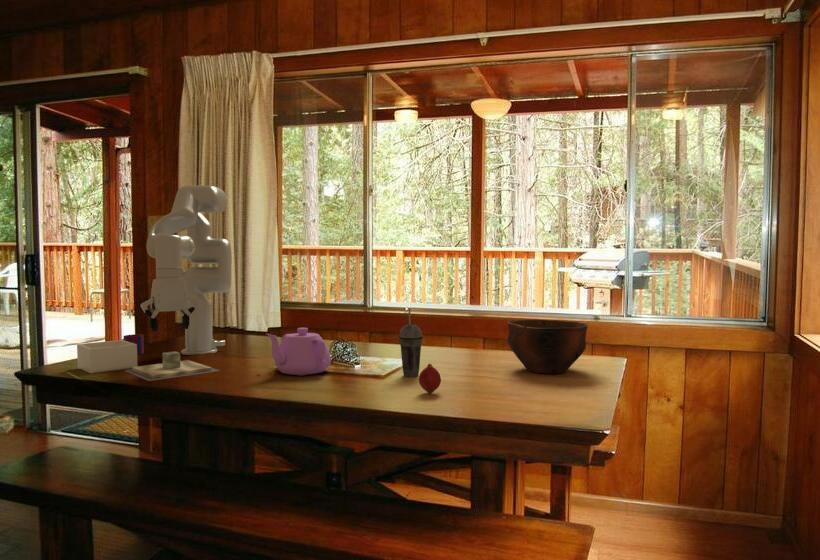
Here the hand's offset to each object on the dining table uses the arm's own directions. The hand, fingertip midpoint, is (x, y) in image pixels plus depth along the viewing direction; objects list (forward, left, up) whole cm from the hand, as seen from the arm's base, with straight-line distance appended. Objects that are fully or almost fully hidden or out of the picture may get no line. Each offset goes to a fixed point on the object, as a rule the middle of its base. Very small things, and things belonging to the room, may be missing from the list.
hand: (170, 329), depth 200 cm
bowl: (-87, +78, -14) cm, 118 cm away
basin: (+13, -20, -14) cm, 28 cm away
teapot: (-28, +28, -14) cm, 42 cm away
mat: (0, 0, -14) cm, 14 cm away
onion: (-39, +75, -14) cm, 86 cm away
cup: (-2, -45, -14) cm, 47 cm away
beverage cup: (-51, +54, -14) cm, 76 cm away
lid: (0, -1, -13) cm, 13 cm away
